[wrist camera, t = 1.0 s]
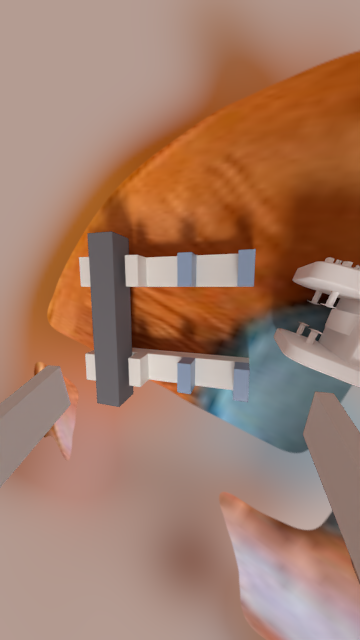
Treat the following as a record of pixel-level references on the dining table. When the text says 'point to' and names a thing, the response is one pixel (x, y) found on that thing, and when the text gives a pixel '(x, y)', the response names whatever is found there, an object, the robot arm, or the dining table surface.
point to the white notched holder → (183, 364)
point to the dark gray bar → (110, 316)
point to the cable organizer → (329, 322)
